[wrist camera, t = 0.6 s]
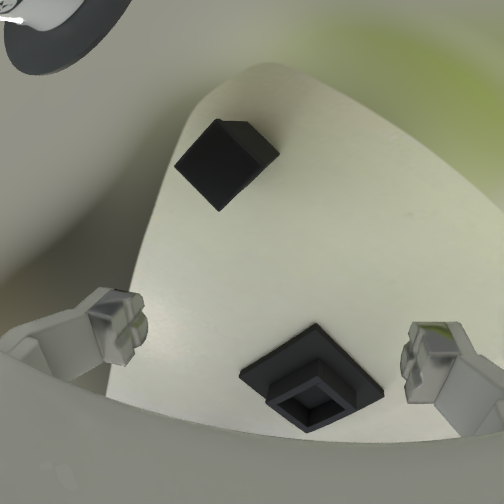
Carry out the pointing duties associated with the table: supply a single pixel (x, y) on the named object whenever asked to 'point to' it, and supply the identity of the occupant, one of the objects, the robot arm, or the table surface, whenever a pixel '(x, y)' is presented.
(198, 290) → the table surface
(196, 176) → the black tall box
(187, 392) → the table surface
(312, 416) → the base pad
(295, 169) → the table surface
